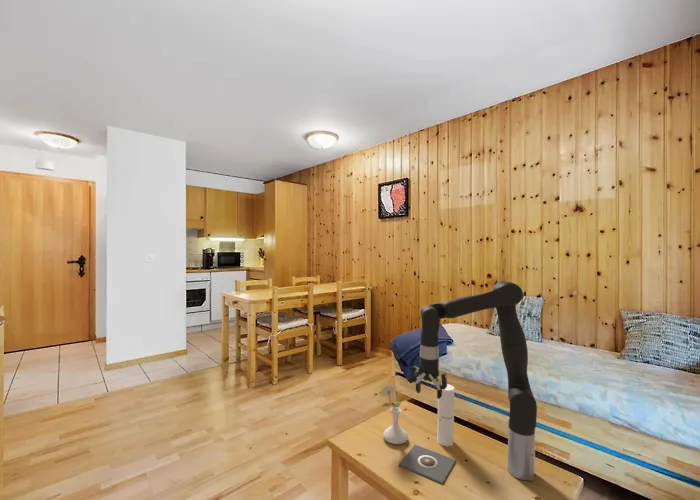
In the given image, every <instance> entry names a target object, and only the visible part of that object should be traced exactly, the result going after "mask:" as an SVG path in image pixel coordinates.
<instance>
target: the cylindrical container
mask: <svg viewBox="0 0 700 500" xmlns="http://www.w3.org/2000/svg"><path fill="white" fill-rule="evenodd" d="M436 426H437V433H436V436H437V438H436V441H437V443H438V444H439V445H441V446H443V447H452V446H453V445H454V435H455V432H454V431H455V429H454V428H455V387H454V386H453V385H452V384H449V383H447V387H446V388H445V389H442V397H441V398H440V399H437V425H436Z"/></svg>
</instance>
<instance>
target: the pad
mask: <svg viewBox="0 0 700 500" xmlns="http://www.w3.org/2000/svg"><path fill="white" fill-rule="evenodd" d="M456 461H457V460H456V459H455V458H451V457H449V456H446V455H443V454H442V453H438V452H436V451H433V450H431V449H428V448H425V447H423V446H420V445H418V444H414V445H413V446H412V448H411V449H410V450H409V451H408V452H407V454H406V455H405V456H404V457H403V459H401V461H400V462H399V463H398V466H399V467H402V468H404V469H406V470H408V471H411V472H413V473H416V474H417V475H420V476H422V477H424V478H427V479H429V480H432V481H434V482H437V483H438V484H441V485H444V483H445V480H446V479H447V477H448V476H449V473H450V472H451V471H452V469H453V467H454V466H455V463H456Z"/></svg>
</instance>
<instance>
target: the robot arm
mask: <svg viewBox="0 0 700 500" xmlns="http://www.w3.org/2000/svg"><path fill="white" fill-rule="evenodd" d="M523 296H524V293H523V289H522V288H521V287H520V286H519V285H518V284H516V283H513V282H511V281H510V282H509V281H504V280H503V281H498V282H497V283H496V284H494V286H493V287H492V290H490V291H487V292H484V293H479V294H473V295H467V296H460V297H457V298H454V299H449V300H447V301H442V302H437V303H432V304H431V303H430V304H427V305H425V306H424V307H422V308H421V310H420V313H419V315H420V318H421V332H420V346H419V347H420V348H419V367H418V366H417V365H414V366H412V368H411V376H410V377H411V378H410V380H411V382H413V383H415V391H416V393H417V394H420V393H421V392H422V391H421V389H422V388H421V386H422V385H421V384H422V383H421V381H422V380H424V381H426V382H427V381H428V382H429V383H431V382H432V383H433V385H434V386H435V387H436V388H437V389H436V390H437V391H436V399H437V400H438V399H440V398H441V397H442V389H445V388H446V387H447V384H448V381H447V380H448V377H447V372H445V371H444V372H440V370H439V369H440V367H439V366H440V362H439V360H440V359H439V358H440V357H439V355H440V350H439V349H440V348H439V330H440V323H441V322H440V321H441V320H442V319H454V318H458V317H461V316H462V317H463V316H465V315H469V314H473V313H476V312H481V311H483V310H489V309H493V308H495V309H496V314H497V320H498V331H499V338H500V339H499V340H500V345H501V346H500V347H501V353H502V357H503V362H504V365H505V366H504V367H505V369H506V373H507V389H508V390H507V392H508V393H507V394H508V395H507V396H508V401H509V418H508V424H507V425H508V429H507V430H508V431H507V433H508V434H507V436H508V437H507V440H508V441H507V471H508V473H509V474H510V475H511V476H513V477H514V478H516V479H519V480H522V481H531V482H534V478H535V473H536V472H535V471H536V469H535V468H536V464H535V463H536V448H535V438H536V436H535V435H536V428H537V427H536V426H537V416H538V406H537V405H538V404H537V401H536V398H535V396H534V394H533V392H532V388H531V385H530V380H529V377H528V363H529V362H528V360H529V354H528V351H529V350H528V345H527V339H526V336H525V332H524V330H523V327H522V325H521V322H520V320H519V318H518V315H517V307H516V306H517V304H519V303H521V301H522V300H523ZM418 372H419V374H420V376H419V377H418V378H417V373H418ZM439 377H440V378H439ZM440 379H441V381H440Z"/></svg>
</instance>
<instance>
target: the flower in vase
mask: <svg viewBox="0 0 700 500" xmlns="http://www.w3.org/2000/svg"><path fill="white" fill-rule="evenodd" d="M395 393H397V388H396V386H395V385H393V384H391V385H390V384H389V385H385V386H384V387H383V388H381V390H380V392H379V394H380V396H381V397H382V398H383V397H384V398H386V397H387V398H388V397H389V402H390V403H389V402H385V403H383V404H382V405H381V407H387V408H388V407H390V406H391V407H390V412H391V413H392V425H391V426H389V427H386V429H385V430H384V431H383V434H382V436H383V439H384V440H385V441H386V442H388V443H390V444H394V445H402V444H404V443H406V442H407V441H408V439H409V436H408V433H407V431H406V430H405V429H404V428H402V427H401V426H400V425H399V417H400V414H401V411H402V408H400V405H401V403H402V402H401V401H402V400H399V401H397V402H395V403H394V405H393V404H392V400H391V396H393V395H395Z"/></svg>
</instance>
